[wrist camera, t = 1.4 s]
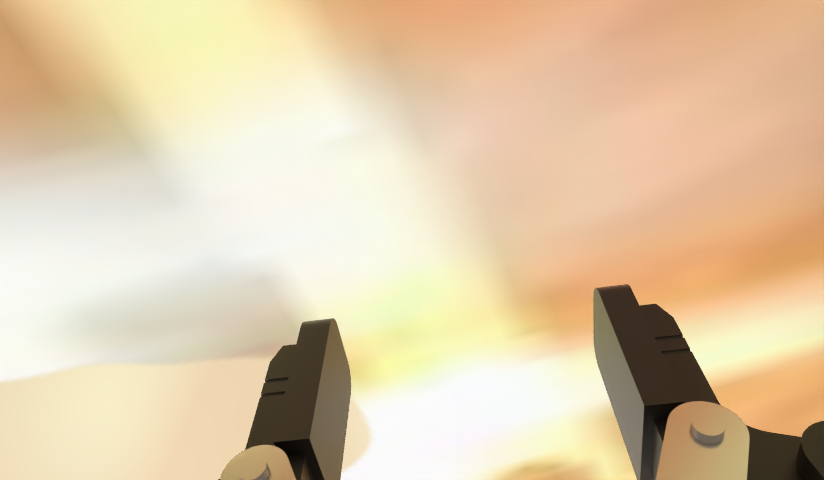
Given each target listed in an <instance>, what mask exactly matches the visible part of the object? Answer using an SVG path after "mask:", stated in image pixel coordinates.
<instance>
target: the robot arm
mask: <svg viewBox="0 0 824 480" xmlns="http://www.w3.org/2000/svg"><path fill="white" fill-rule="evenodd" d="M594 348H595V354H596V359H597V363H598V367H599V370H600V372H601V375H602V378H603V381H604V384H605V387H606V390H607V393H608V396H609V399H610V402H611V404H612V407H613V410H614V413H615V416H616V419H617V422H618V425H619V428H620V431H621V434H622V436H623V439H624V442H625V445H626V448H627V451H628V454H629V457H630V460H631V463H632V466H633V469H634V471H635V474H636V477H637V480H824V421H821V422H817V423H814V424H812V425H811V426H809V427H808V428H807V429H806V430H805V431H804V433H803V435H802V437H797V436H790V435H784V434H777V433H771V432H766V431H761V430H758V429H755V428H752V427H749V426H747V425H745V423H744V422H743V421H742V419H741V418H740V417H739V416H738V415H737V414H735V413H734V412H732V411H731V410H729V409H727V408H726V407H723V406H721V405H720V403H719V402H718V400H717V398H716V396H715V394H714V393H713V391H712V389H711V387H710V385H709V383H708V381H707V379H706V378H705V376H704V374H703V372H702V370H701V368H700V366H699V365H698V363H697V361H696V359H695V357H694V355H693V353H692V352H690V348H689V346H688V344H687V342H686V340H685V338H683V336H682V333H681V331H680V329H679V327H678V325H677V323H676V322H675V320H674V318H673V317H672V316H671V315H669V314H668V313H667V312H666V311H664V310H663V309H662V308H661V307H659V306H658V305H657V304H650V305H641V306H639V304H638V302H637V300H636V298H635V296H634V294H633V292H632V289H631V288H630V286H629V285H628V284H626V285H618V286H609V287H601V288H595V289H594ZM350 395H351V376H350V369H349V365H348V361H347V357H346V354H345V350H344V347H343V343H342V340H341V336H340V333H339V329H338V326H337V323H336V321H335V319H324V320H316V321H307V322H303V323H302V325H301V328H300V332H299V336H298V340H297V344H296V345H287V346H283V347H282V348H281V349H280V350H279V352H278V353H277V354H276V355H275V357H274V358H273V359H272V360H271V362H270V364H269V368H268V371H267V375H266V378H265V383H264V385H263V389H262V392H261V398H260V400H259V403H258V407H257V410H256V414H255V417H254V421H253V425H252V428H251V431H250V435H249V438H248V443H247V446H246V449H245V450H244V451H242V452H241V453H239V454H238V455H236V456H235V457H234V458H233V459H232V460H231V461H230V462H229V463H228V464H227V466H226V467H225V469H224V470H223V472H222V475H221V478H220V479H219V480H340V477H341V469H342V461H343V452H344V444H345V436H346V427H347V419H348V411H349V403H350Z"/></svg>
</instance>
